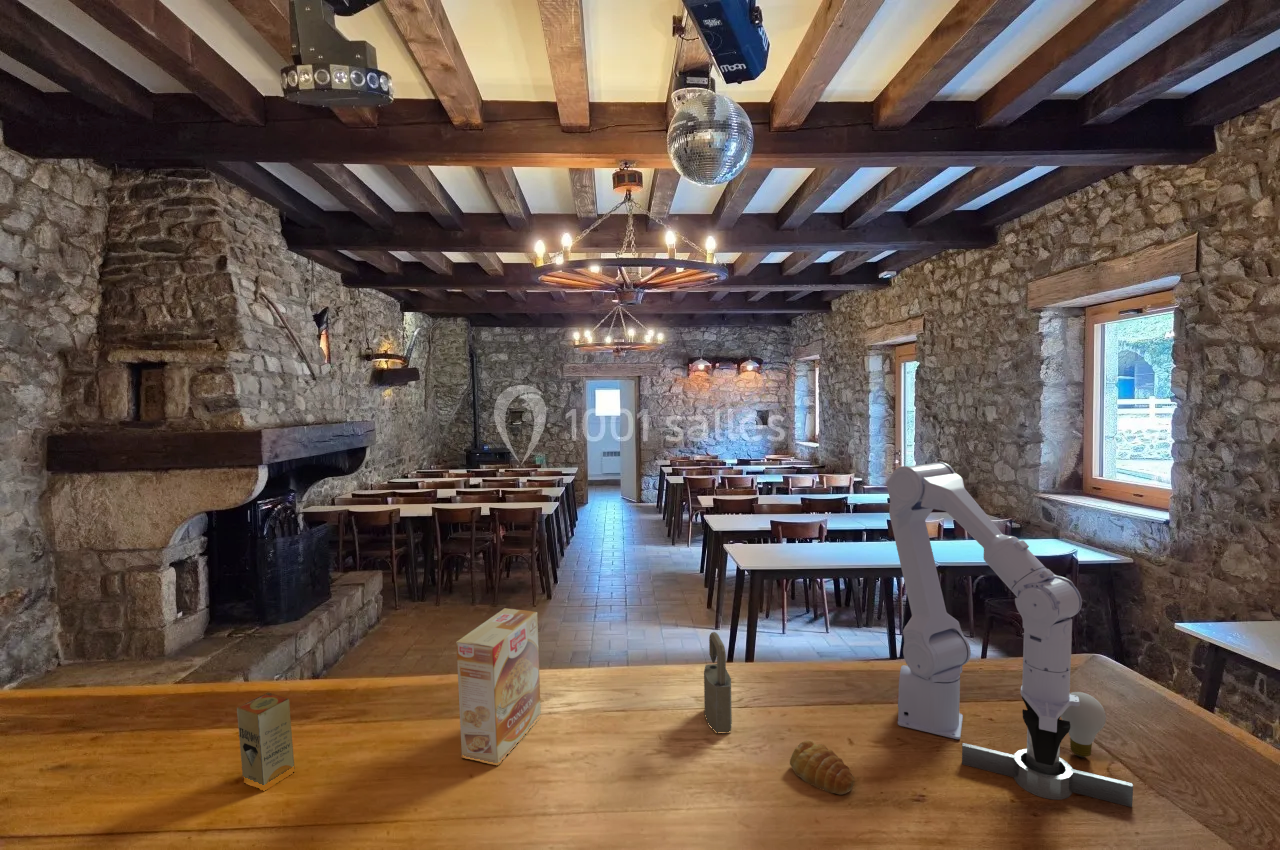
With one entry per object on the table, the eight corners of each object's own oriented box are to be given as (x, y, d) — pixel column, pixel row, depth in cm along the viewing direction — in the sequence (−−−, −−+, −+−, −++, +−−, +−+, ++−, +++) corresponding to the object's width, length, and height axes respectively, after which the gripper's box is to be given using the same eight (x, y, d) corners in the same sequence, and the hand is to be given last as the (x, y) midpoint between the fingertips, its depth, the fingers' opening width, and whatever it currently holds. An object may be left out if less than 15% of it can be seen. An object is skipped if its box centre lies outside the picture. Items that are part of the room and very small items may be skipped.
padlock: (723, 707, 116) (722, 626, 115) (735, 732, 108) (734, 646, 106) (701, 709, 115) (700, 628, 114) (712, 734, 107) (710, 648, 106)
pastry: (865, 785, 94) (865, 761, 94) (835, 805, 90) (835, 779, 90) (813, 755, 102) (813, 732, 101) (784, 771, 98) (784, 748, 97)
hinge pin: (1027, 774, 92) (1029, 727, 91) (1024, 758, 96) (1026, 713, 95) (1060, 781, 90) (1062, 734, 90) (1056, 765, 94) (1058, 719, 93)
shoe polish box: (274, 764, 102) (268, 692, 101) (294, 772, 100) (288, 698, 99) (243, 783, 98) (236, 707, 97) (264, 791, 96) (257, 714, 94)
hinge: (960, 775, 95) (961, 756, 95) (963, 750, 101) (963, 732, 101) (1136, 821, 85) (1137, 800, 85) (1127, 790, 91) (1128, 770, 91)
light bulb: (1111, 770, 96) (1114, 705, 95) (1067, 766, 97) (1070, 702, 96) (1092, 747, 101) (1095, 686, 101) (1051, 743, 103) (1053, 683, 102)
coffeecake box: (498, 767, 100) (493, 646, 98) (459, 759, 102) (453, 641, 101) (543, 717, 114) (539, 610, 112) (508, 711, 116) (503, 606, 115)
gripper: (1085, 692, 83) (1082, 791, 85) (1075, 648, 96) (1072, 735, 97) (1022, 680, 87) (1019, 776, 88) (1020, 639, 99) (1018, 723, 101)
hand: (1043, 753), depth 93 cm, fingers closed on hinge pin, 4 cm apart
